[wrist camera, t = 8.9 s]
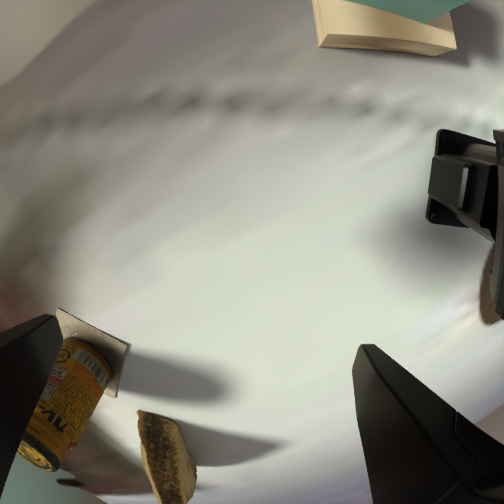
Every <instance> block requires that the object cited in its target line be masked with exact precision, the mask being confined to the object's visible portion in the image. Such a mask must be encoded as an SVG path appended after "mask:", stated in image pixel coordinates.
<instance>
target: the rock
mask: <svg viewBox="0 0 504 504" xmlns="http://www.w3.org/2000/svg"><path fill="white" fill-rule="evenodd" d="M137 414H138V417H139V420H138V425H137V426H138V431H139V436H140V439H141V455H142V460H143V465H144V468H145V471H146V474H147V475H148V478H149V480H150V482H151V484H152V487H153V492H154V495H155V497H156V498H157V501H158V504H187V502H188V501H189V500H190V498H192V497H193V493H194V490H195V488H196V480H197V474H196V472H197V469H196V464H195V462H194V461H193V459H192V458H191V456H190V453H189V451H188V450H187V448H186V445H185V441H184V439H183V436H182V435H181V433H180V429H179V427H178V425H177V424H176V423H175V422H172V421H170V420H167V419H165V418H162V417H160V416H158V415H155V414H152V413H148V412H143V411H140V410H138V411H137Z"/></svg>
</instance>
